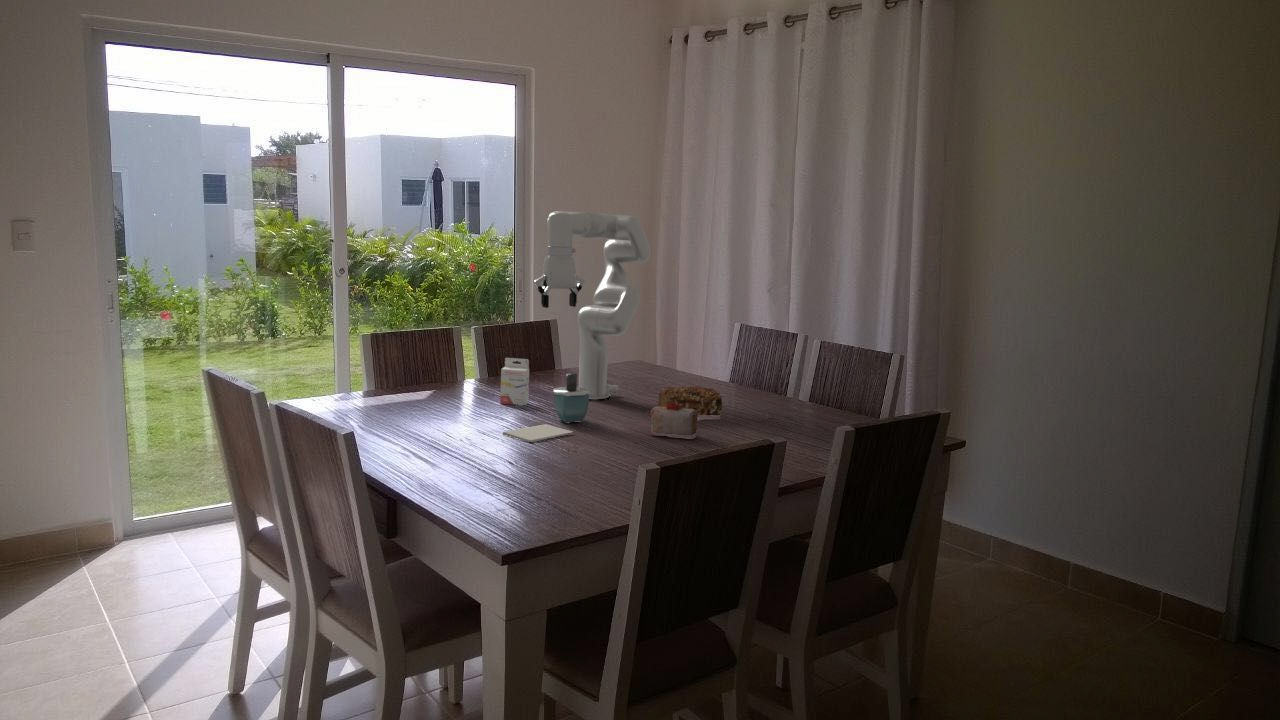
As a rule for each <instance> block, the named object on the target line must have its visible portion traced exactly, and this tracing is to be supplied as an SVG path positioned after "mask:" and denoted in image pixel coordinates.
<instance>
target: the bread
mask: <svg viewBox="0 0 1280 720" xmlns="http://www.w3.org/2000/svg"><path fill="white" fill-rule="evenodd" d="M676 402H678V404H679V405H681V407H682V408H686V409H694V410H697V411H698V415H720V414H721V415H722V411H723V397H722V395H721V394H720V392H718V391H717V390H715V389H714V388H706V387H699V386H676V387H675V386H666V387H664V388H663V389H662V390H660V391H659V393H658V406H659V407H667V406H668V404H670V403H673V404H675V403H676Z"/></svg>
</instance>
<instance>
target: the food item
mask: <svg viewBox="0 0 1280 720" xmlns="http://www.w3.org/2000/svg"><path fill="white" fill-rule="evenodd" d="M650 416H651V426H650V432H651V431H652V432H656V433H665V434H677V435H693V434H695V433H696V431H697V429H698V421H697V417H698V411H697V410H694V409H686V408H682V407H681V405H679V404H678V402H676V403H675V404H673V403H670V404H668V406H667V407H659V405H658V406H653V407H652V409H651V410H650ZM697 432H698V431H697Z"/></svg>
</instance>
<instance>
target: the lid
mask: <svg viewBox="0 0 1280 720" xmlns="http://www.w3.org/2000/svg"><path fill="white" fill-rule="evenodd" d="M565 376H566V379H565V380H566V382H565V383H566V384H565V386H558V387H555V388H553V389H552V393H554V394H556V395H560V396H569V397H577V396H586V395H588V394H589V393H590V390H588V389H586V388H581V387H579V386H577V385H578V374H577V373H575V372H574V373H573V372H567V373H566V375H565Z"/></svg>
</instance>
